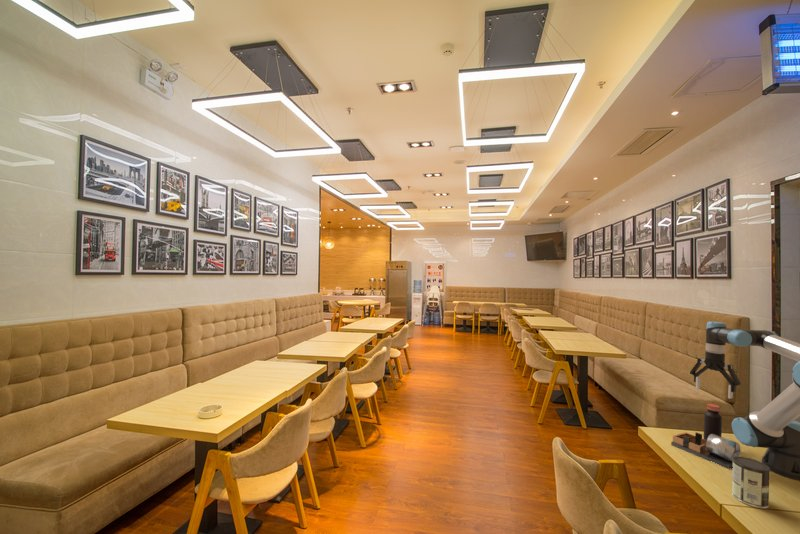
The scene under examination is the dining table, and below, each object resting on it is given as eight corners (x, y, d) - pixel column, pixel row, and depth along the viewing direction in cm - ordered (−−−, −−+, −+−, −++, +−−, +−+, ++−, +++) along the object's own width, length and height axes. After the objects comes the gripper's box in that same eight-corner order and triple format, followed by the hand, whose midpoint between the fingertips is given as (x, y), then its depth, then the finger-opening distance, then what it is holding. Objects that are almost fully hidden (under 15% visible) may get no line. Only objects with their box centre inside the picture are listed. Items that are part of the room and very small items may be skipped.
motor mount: (743, 463, 162) (744, 440, 163) (728, 469, 157) (729, 445, 157) (685, 440, 183) (686, 420, 183) (671, 444, 178) (672, 424, 178)
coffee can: (754, 493, 139) (755, 458, 139) (776, 511, 129) (778, 472, 129) (724, 489, 141) (725, 454, 141) (743, 506, 131) (745, 468, 131)
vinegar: (707, 440, 185) (709, 402, 185) (723, 446, 178) (725, 407, 179) (700, 442, 182) (701, 403, 182) (716, 448, 176) (718, 408, 176)
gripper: (750, 357, 171) (749, 401, 171) (690, 346, 194) (689, 384, 193) (743, 358, 168) (741, 403, 168) (683, 347, 190) (681, 386, 190)
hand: (713, 393), depth 181 cm, fingers open, 13 cm apart
